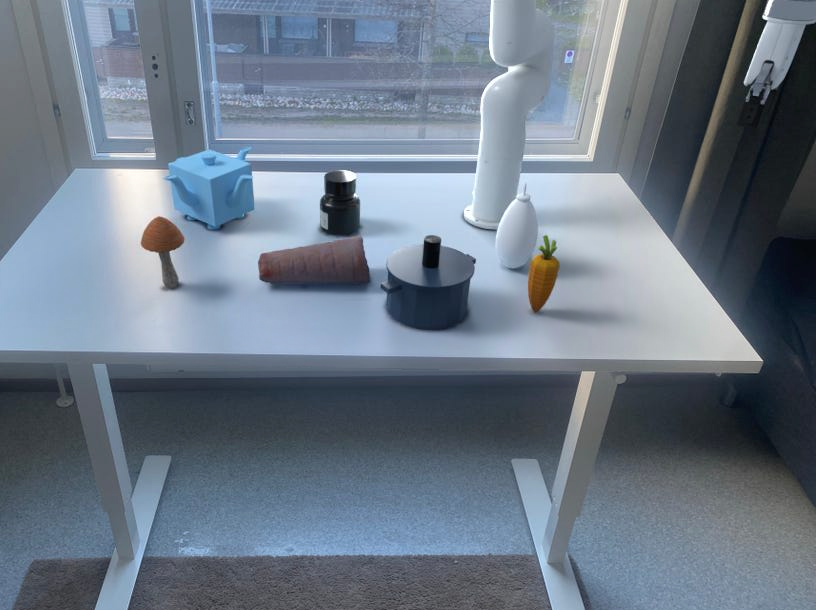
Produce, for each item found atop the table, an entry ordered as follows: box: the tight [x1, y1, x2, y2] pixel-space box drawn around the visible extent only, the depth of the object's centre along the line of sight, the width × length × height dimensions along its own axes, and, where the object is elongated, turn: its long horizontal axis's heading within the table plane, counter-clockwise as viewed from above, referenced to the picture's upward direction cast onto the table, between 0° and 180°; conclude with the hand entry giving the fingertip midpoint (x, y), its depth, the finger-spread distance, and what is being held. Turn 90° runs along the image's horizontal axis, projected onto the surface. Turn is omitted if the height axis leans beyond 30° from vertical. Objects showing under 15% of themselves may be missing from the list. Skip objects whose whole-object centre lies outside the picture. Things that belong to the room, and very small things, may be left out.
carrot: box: [527, 234, 561, 314], centre depth 124 cm, size 5×5×15 cm
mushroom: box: [140, 215, 186, 290], centre depth 131 cm, size 8×8×15 cm
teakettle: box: [163, 146, 255, 230], centre depth 157 cm, size 19×19×15 cm
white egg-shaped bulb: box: [495, 182, 539, 270], centre depth 137 cm, size 8×8×18 cm
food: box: [257, 235, 371, 285], centre depth 135 cm, size 21×9×9 cm, turn 98°
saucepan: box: [380, 253, 477, 331], centre depth 128 cm, size 15×20×8 cm
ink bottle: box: [319, 169, 361, 236], centre depth 153 cm, size 10×9×12 cm
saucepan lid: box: [385, 234, 476, 290], centre depth 124 cm, size 16×16×6 cm
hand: (753, 119), depth 121 cm, fingers open, 9 cm apart
